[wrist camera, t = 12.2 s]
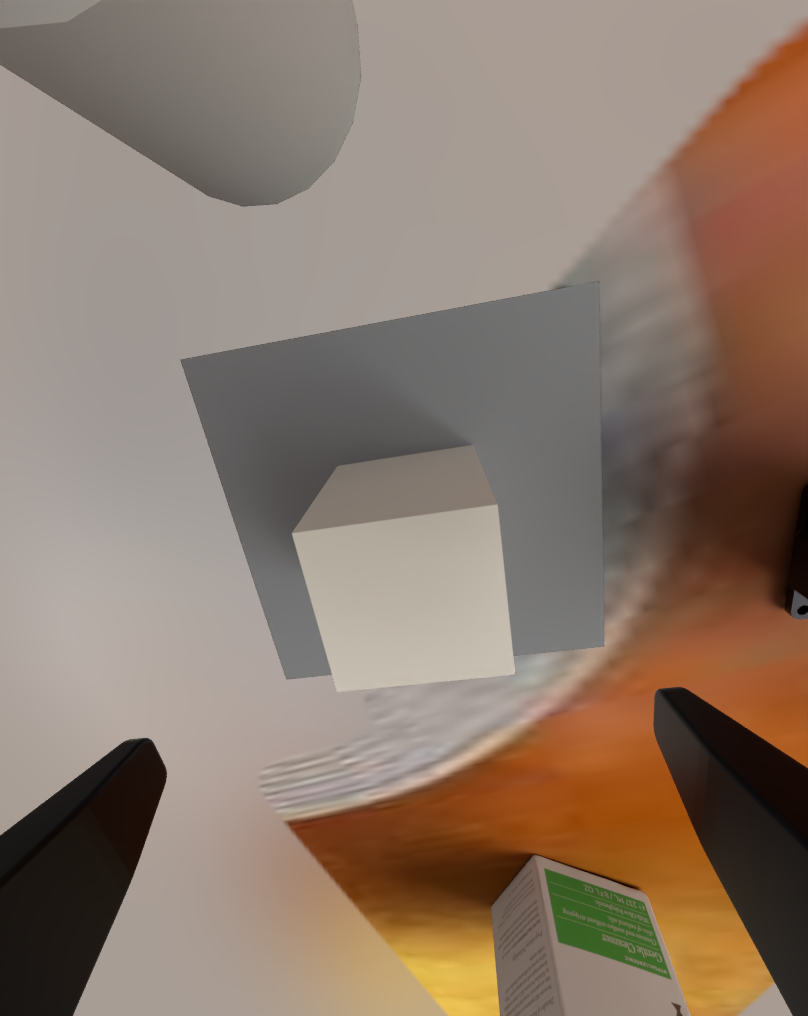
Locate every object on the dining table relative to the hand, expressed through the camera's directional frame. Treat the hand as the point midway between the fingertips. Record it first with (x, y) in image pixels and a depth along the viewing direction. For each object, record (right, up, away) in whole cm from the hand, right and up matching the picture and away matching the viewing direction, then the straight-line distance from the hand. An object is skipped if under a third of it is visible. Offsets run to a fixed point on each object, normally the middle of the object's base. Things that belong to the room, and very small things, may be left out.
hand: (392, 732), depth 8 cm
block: (+1, +4, +9) cm, 10 cm away
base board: (+1, +4, +12) cm, 12 cm away
